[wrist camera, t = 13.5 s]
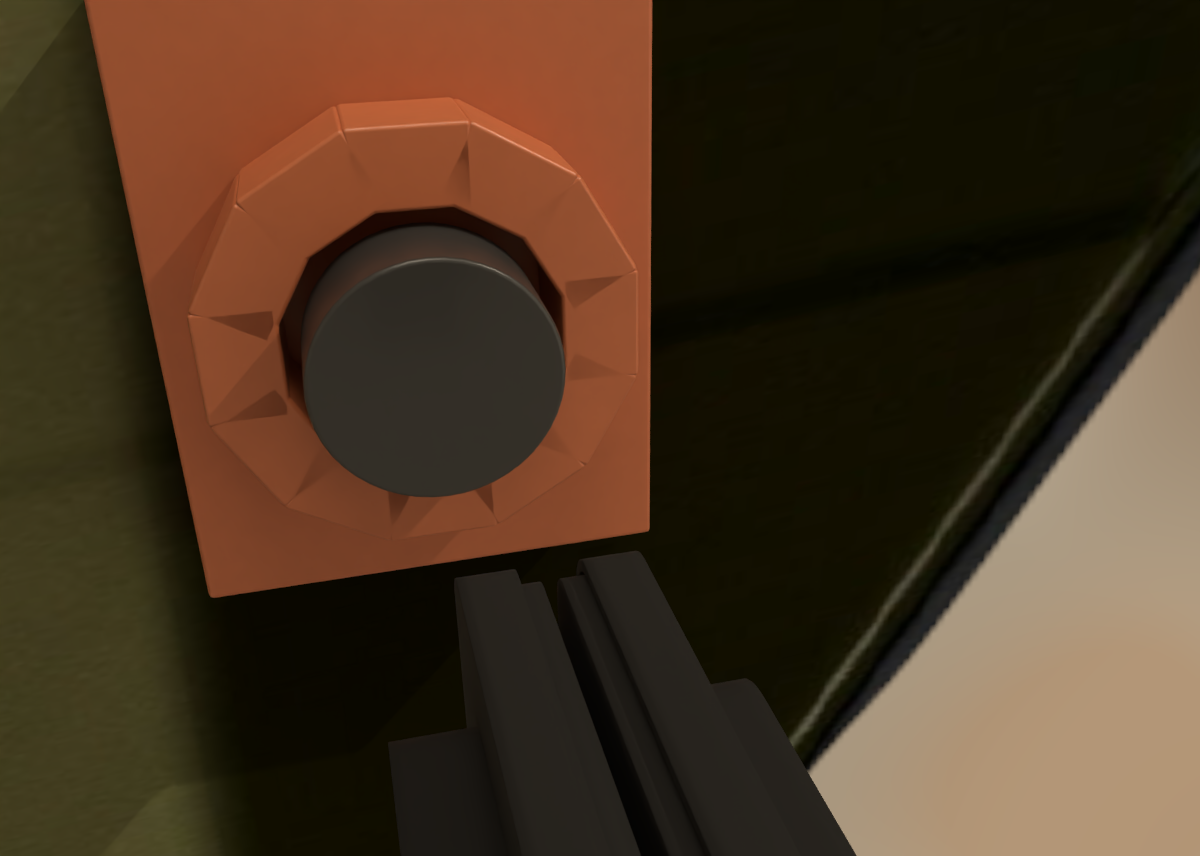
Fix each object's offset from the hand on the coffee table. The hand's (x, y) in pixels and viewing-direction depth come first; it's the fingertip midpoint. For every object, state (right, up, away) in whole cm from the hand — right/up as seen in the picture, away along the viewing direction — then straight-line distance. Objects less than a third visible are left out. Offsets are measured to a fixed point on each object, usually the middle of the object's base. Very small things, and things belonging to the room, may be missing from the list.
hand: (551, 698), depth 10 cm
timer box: (-3, +5, +10) cm, 12 cm away
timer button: (-2, +4, +7) cm, 8 cm away
